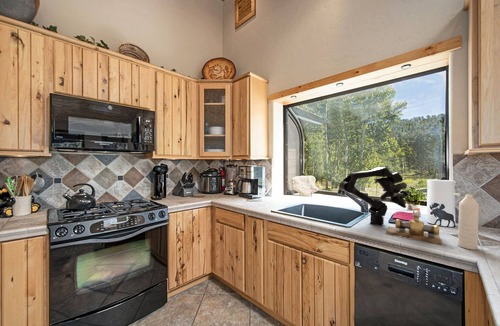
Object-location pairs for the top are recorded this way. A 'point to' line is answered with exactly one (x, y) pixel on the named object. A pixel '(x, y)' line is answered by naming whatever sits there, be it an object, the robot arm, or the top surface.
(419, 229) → the valve body
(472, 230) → the water bottle
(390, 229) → the valve board
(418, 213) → the valve lever
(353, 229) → the top surface
